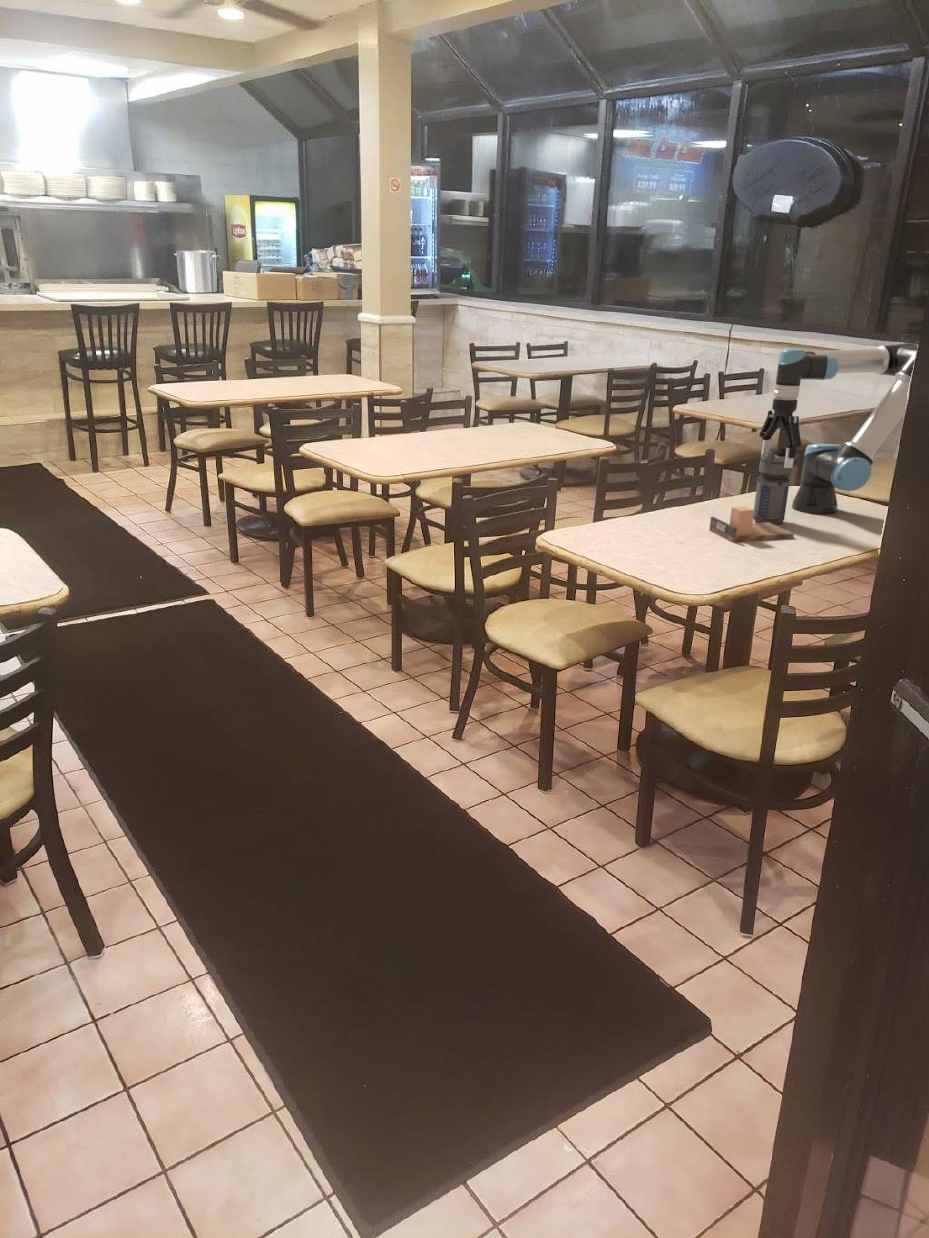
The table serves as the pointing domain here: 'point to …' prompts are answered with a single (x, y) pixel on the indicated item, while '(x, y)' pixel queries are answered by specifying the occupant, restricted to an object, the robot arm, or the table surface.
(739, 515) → the carton block
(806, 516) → the table surface
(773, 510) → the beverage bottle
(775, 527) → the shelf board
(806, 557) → the table surface
